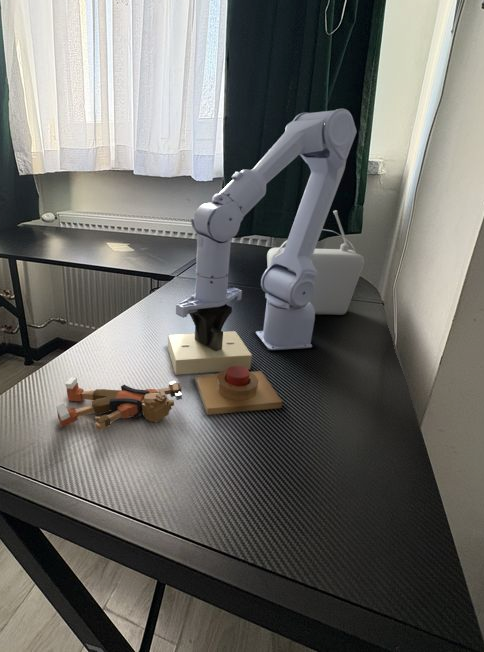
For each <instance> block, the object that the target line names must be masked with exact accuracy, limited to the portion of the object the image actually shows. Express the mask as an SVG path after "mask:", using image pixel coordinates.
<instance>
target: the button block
mask: <svg viewBox="0 0 484 652" xmlns="http://www.w3.org/2000/svg"><path fill="white" fill-rule="evenodd" d="M226 376H227V369H225V370H223V371H220V372H218V373H216V374H215V373H213V374H202V375H195V376H194V383H195V386H196V388H197V392H198V393H199V397H200V399H201V402H202V404H203V407H204V410H205V413H206V415H208V416H210V415H220V414H229V413H230V414H232V413H243V412H253V411H263V410H274V409H282V408H283V407H282V406H283V400H282V399H281V398H280V396H279V395H278V393H277V392H276V390H275V389H274V387H273V386H272V384H271V383H270V381H269V380H268V378H267V377H266V375H265V374H264V373H263V371H262V370H256V371H249V382H248V384H247V385H246V386H234V385H231V384H229V383H227V381H226Z"/></svg>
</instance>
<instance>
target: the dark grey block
mask: <svg viewBox="0 0 484 652" xmlns="http://www.w3.org/2000/svg"><path fill="white" fill-rule="evenodd" d="M223 332H224V331H222V330H219V329H217V328H215V327H213V326H212V329H211V336H210V342H209V345H208V346H207V347H209V348H211V349H213V350H214V351H218V350H221V349H222V342H223ZM194 333H195V340H197V341H199V339H198V334H197V330H196V327H195V326H194Z"/></svg>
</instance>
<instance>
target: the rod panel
mask: <svg viewBox="0 0 484 652" xmlns="http://www.w3.org/2000/svg"><path fill="white" fill-rule="evenodd" d="M167 349H168V353H169V357H170V360H171V363H172V367H173V371H174V374H175V376H177V375H191V374H203V373H205V374H206V373H219V372H220V371H223V370H225V369H228V368H229V367H231V366H241V367H244V368H246V369H248V370H251V367H252V358H253V354H252V353H251V351H250V350H249V349H248V347H247V345H246V344H245V343H244V341H243V340H242V338H241V337H240V336H239V334H238V333H237V332H236V330H231V331H223V342H222V349H221V350H218V351H214V350H213V349H211V348H209V347H207V346H205V345H203V344H201V343H199V341H197V340H195V332H194V333H193V332H192V333H177V334H175V333H174V334H167Z"/></svg>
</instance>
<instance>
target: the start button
mask: <svg viewBox="0 0 484 652" xmlns="http://www.w3.org/2000/svg"><path fill="white" fill-rule="evenodd" d="M249 372H250V371H249V369H246V368H244V367H241V366H231V367H229V368H228V369H227V376H226V381H227V383H229V384H231V385H234V386H246V385H247V384H248V382H249Z"/></svg>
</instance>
